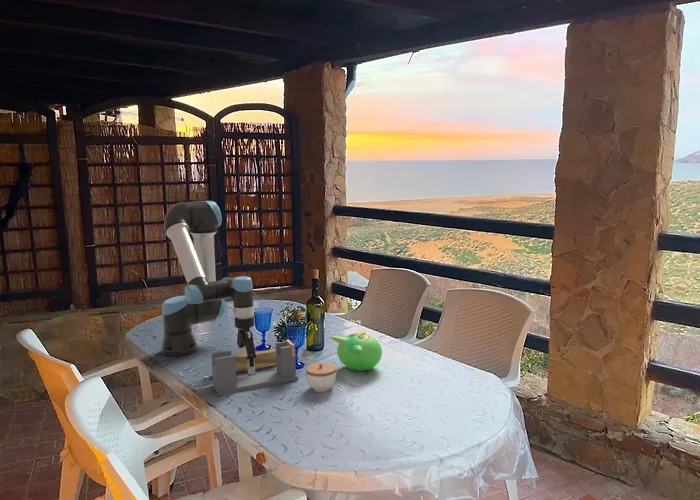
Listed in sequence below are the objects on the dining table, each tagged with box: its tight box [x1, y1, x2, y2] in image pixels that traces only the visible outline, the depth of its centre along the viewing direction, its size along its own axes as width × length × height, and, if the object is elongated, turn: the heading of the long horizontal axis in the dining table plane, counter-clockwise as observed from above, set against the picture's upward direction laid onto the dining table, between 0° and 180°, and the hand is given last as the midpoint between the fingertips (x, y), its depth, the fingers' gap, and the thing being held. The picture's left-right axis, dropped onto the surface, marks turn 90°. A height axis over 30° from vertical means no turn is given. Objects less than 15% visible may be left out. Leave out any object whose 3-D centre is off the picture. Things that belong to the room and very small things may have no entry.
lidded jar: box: [305, 362, 337, 393], centre depth 196 cm, size 11×11×9 cm
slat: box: [234, 348, 277, 373], centre depth 217 cm, size 3×24×6 cm, turn 115°
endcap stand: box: [210, 339, 299, 396], centre depth 202 cm, size 9×30×14 cm, turn 115°
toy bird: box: [330, 330, 383, 372], centre depth 214 cm, size 18×17×15 cm
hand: (247, 368), depth 217 cm, fingers open, 13 cm apart
